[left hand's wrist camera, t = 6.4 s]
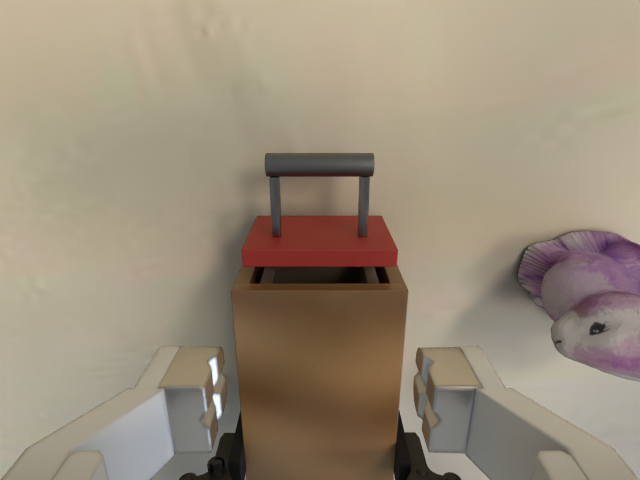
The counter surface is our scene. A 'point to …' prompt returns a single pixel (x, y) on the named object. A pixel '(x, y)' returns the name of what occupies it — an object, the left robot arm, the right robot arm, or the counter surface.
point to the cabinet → (319, 376)
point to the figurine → (589, 297)
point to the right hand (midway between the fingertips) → (319, 407)
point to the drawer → (319, 228)
